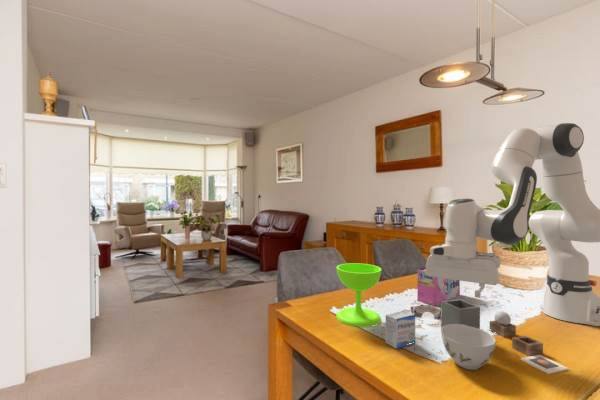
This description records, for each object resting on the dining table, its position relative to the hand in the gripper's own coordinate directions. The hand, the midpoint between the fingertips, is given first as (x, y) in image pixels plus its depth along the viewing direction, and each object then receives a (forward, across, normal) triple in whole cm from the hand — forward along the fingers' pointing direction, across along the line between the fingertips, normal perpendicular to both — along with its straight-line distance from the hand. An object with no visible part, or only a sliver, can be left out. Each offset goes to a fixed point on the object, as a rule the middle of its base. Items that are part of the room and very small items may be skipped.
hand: (460, 294), depth 96 cm
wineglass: (+13, +32, +4) cm, 35 cm away
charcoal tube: (+13, 0, 0) cm, 13 cm away
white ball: (+8, -11, -10) cm, 17 cm away
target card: (+13, -20, +6) cm, 25 cm away
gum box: (+14, +12, -36) cm, 40 cm away
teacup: (+13, -4, +16) cm, 21 cm away
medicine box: (+13, +14, +16) cm, 25 cm away
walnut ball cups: (+13, -14, -5) cm, 20 cm away
